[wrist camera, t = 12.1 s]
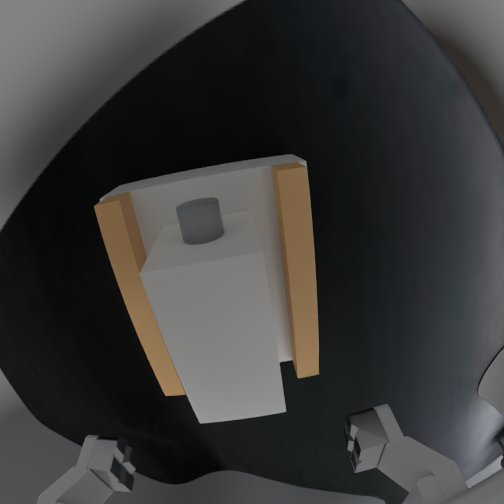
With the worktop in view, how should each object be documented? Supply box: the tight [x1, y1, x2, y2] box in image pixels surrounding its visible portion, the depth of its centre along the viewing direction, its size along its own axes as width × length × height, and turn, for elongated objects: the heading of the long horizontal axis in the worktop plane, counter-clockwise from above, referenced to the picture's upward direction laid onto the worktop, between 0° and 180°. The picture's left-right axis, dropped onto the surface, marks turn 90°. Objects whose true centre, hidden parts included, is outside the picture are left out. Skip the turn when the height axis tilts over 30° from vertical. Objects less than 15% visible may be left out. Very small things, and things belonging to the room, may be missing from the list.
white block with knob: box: [140, 197, 286, 423], centre depth 17 cm, size 12×5×6 cm, turn 9°
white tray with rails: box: [94, 154, 319, 396], centre depth 20 cm, size 12×14×6 cm
